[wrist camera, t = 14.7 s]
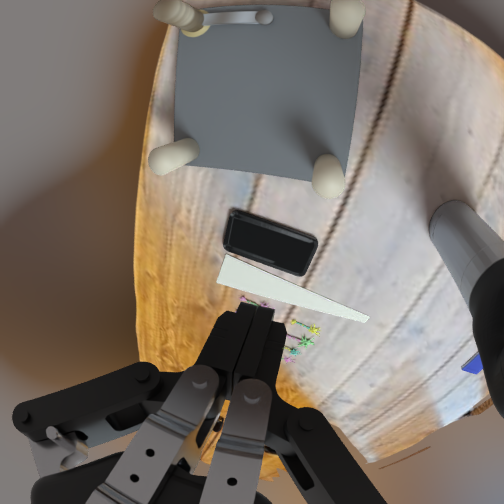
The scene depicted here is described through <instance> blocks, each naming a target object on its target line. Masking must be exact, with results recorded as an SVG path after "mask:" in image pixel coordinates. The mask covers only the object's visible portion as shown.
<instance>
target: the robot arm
mask: <svg viewBox="0 0 504 504" xmlns="http://www.w3.org/2000/svg"><path fill="white" fill-rule="evenodd" d="M429 233H430V238H431V241H432V243H433V244H434V246H435V247H436V249H437V251H438V252H439V254H440V256H441V258H442V259H443V261H444V263H445V265H446V266H447V268H448V270H449V272H450V273H451V275H452V277H453V279H454V281H455V283H456V285H457V286H458V288H459V290H460V292H461V294H462V296H463V298H464V300H465V302H466V304H467V306H468V308H469V311H470V313H471V315H472V317H473V335H474V338H475V342H476V345H477V348H478V351H479V355H480V359H481V362H482V366H483V370H484V374H485V378H486V382H487V386H488V389H489V393H490V396H491V398H492V401H493V403H494V405H495V407H496V409H497V411H498V412H499V414H500V415H501V416H502V417H503V418H504V241H503V240H502V239H501V238H500V237H499V236H498V234H497V233H496V232H495V231H494V230H493V229H492V228H491V227H490V226H489V225H488V224H487V223H486V222H485V221H484V220H483V219H482V218H481V217H480V216H479V215H478V214H477V213H475V212H474V211H473V210H472V209H471V208H470V207H469V206H468V205H467V204H465V203H464V202H461V201H456V200H454V201H449V202H446V203H444V204H443V205H442V206H440V207H439V208H438V209H437V210H436V212H435V213H434V215H433V217H432V219H431V222H430V228H429ZM274 313H275V309H272V308H267V307H262V306H257V305H253V304H248V303H244V302H241V303H240V305H239V307H238V309H237V311H236V313H235V312H230V311H226V312H224V313H223V314H222V315H221V316H219V317H218V319H217V321H216V323H215V325H214V328H213V329H212V331H211V333H210V336H209V337H208V339H207V341H206V343H205V345H204V347H203V349H202V351H201V353H200V355H199V357H198V359H197V361H196V363H195V364H194V365H193V366H191V367H189V368H187V369H186V370H185V371H182V372H159V370H158V368H157V367H156V366H155V365H153V364H151V363H149V362H137V363H134V364H132V365H129V366H127V367H124V368H122V369H119V370H117V371H114V372H111V373H109V374H106V375H103V376H100V377H98V378H95V379H92V380H90V381H87V382H84V383H81V384H78V385H76V386H73V387H70V388H67V389H64V390H61V391H58V392H55V393H52V394H48V395H46V396H42V397H39V398H36V399H33V400H29V401H26V402H22V403H20V404H18V405H17V406H16V407H15V409H14V411H13V415H12V420H13V423H14V426H15V427H16V429H18V430H19V431H20V432H21V433H23V434H24V435H25V436H27V437H28V439H29V442H30V446H31V450H32V454H33V457H34V460H35V463H36V466H37V470H38V473H39V476H40V479H39V480H38V481H36V482H35V484H34V485H33V488H32V490H31V504H272V503H271V502H270V501H269V500H268V499H267V498H266V497H265V496H263V495H262V494H261V493H259V492H257V491H256V489H257V485H258V480H259V475H260V470H261V465H262V459H263V453H264V444H265V445H267V446H268V447H270V448H272V449H274V450H275V451H276V453H277V455H278V456H279V458H280V460H281V461H282V463H283V465H284V466H285V468H286V470H287V472H288V473H289V475H290V476H291V478H292V480H293V481H294V483H295V485H296V486H297V488H298V489H299V491H300V492H301V494H302V496H303V497H304V499H305V500H306V502H307V503H308V504H387V503H386V501H385V500H384V499H383V497H382V496H381V495H380V493H379V492H378V491H377V489H376V488H375V487H374V485H373V484H372V483H371V481H370V480H369V479H368V477H367V476H366V474H365V473H364V472H363V470H362V469H361V468H360V466H359V465H358V463H357V462H356V461H355V460H354V458H353V457H352V455H351V454H350V452H349V451H348V449H347V448H346V447H345V445H344V444H343V442H342V441H341V440H340V438H339V437H338V436H337V434H336V432H335V431H334V430H333V428H332V427H331V425H330V424H329V422H328V421H327V419H326V418H325V417H324V415H323V414H322V413H321V412H320V411H318V410H316V409H314V408H310V407H303V408H299V409H298V408H296V407H294V406H292V405H290V404H288V403H286V402H285V401H283V400H282V399H281V398H280V397H279V395H278V394H277V391H276V386H275V384H276V379H277V375H278V371H279V367H280V362H281V358H282V354H283V349H284V345H285V340H286V336H287V331H286V328H285V325H284V323H279V322H275V321H273V319H274ZM225 399H226V400H230V404H229V407H228V411H227V415H226V418H225V422H224V426H223V429H222V433H221V436H220V439H219V440H218V442H217V445H216V448H215V451H214V454H213V458H212V462H211V465H210V469H209V472H208V475H207V477H206V476H196V475H192V474H193V472H194V471H195V468H196V467H197V465H198V463H199V460H200V457H201V453H202V450H203V448H204V446H205V444H206V442H207V440H208V438H209V436H210V434H211V432H212V430H213V428H214V426H215V424H216V422H217V420H218V418H219V416H220V412H221V409H222V406H223V404H224V401H225ZM137 430H138V432H137V433H136V435H135V436H134V438H133V439H132V441H131V442H130V444H129V446H128V447H127V448H126V450H125V451H123V452H118V453H114V454H111V455H109V456H106V457H104V458H101V459H98V460H96V461H93V462H90V463H88V464H84V465H81V466H78V467H75V466H76V465H77V464H79V463H81V462H83V461H84V460H86V459H87V458H88V448H91V447H94V446H97V445H100V444H103V443H105V442H108V441H111V440H114V439H117V438H119V437H122V436H125V435H127V434H130V433H132V432H135V431H137Z"/></svg>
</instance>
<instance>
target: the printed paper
mask: <svg viewBox="0 0 504 504" xmlns="http://www.w3.org/2000/svg"><path fill="white" fill-rule="evenodd" d="M216 283H219V284H222V285H226V286H229V287H232V288H236V289H239V290H243V291H246V292H250V293H253V294H257V295H260V296H264V297H267V298H271V299H275V300H278V301H282V302H285V303H289V304H293V305H297V306H300V307H304V308H308V309H312V310H316V311H320V312H324V313H328V314H332V315H336V316H340V317H344V318H348V319H352V320H356V321H360V322H366V321H367V320H368V319H369V318H370V317H369V316H367V315H364V314H362V313H360V312H357V311H355V310H353V309H350V308H348V307H346V306H343V305H341V304H339V303H336V302H334V301H332V300H329V299H327V298H325V297H322V296H320V295H318V294H315V293H313V292H311V291H309V290H306V289H304V288H302V287H299V286H297V285H295V284H292V283H290V282H288V281H286V280H283V279H281V278H279V277H277V276H274V275H272V274H270V273H267V272H265V271H263V270H261V269H258V268H256V267H254V266H252V265H249V264H247V263H245V262H243V261H240V260H238V259H236V258H234V257H231V256H229V255H227V254H226V256H225V259H224V262H223V264H222V267H221V270H220V273H219V276H218V279H217V282H216ZM241 297H242V296H241ZM240 299H241V298H240ZM241 300H243V301H244V300H245V301H247V302H248V303H251V304H254V305H256V303H253V302H249V301H248V300H246V299H245V297H244V298H243V297H242V299H241ZM260 303H261V302H260ZM263 305H264V304H263ZM263 305H262V303H261V306H262V307H269V306H267V305H268V303H267V305H266V306H263ZM257 306H258V305H257ZM236 309H237V308H236ZM272 309H273V308H272ZM235 313H236V312H235ZM290 323H292V324H294V323H297V324H300V325H303V324H301V323H298V322H296V320H294V321H293V320H292V322H291V321H290ZM311 326H312V325H311ZM303 327H306V326H305V325H303ZM306 328H307V329H310V330H309V332H312V333H316V335H317V334H320V333H317V332H316V331H320V330H317V329H319V328H315V324H314V327H313V328H312V327H311V328H310V327H306ZM287 336H288V338H292V337H291V336H289V335H287ZM317 336H318V335H317ZM302 337H303V335H302ZM319 337H320V336H319ZM292 339H296V338H294V337H293V338H292ZM302 339H303V338H302ZM313 339H314V338H313ZM313 339H312V340H313ZM296 340H297V341H299V342H302V344H298V345H301V346H303V345H305V346H306V348H307V345H309V344H313V343H314V342H310V341H312V340H306V337H305V339H303V340H300V339H296ZM313 345H314V344H313ZM297 347H300V346H297ZM306 348H305V349H306ZM285 349H288V348H286V347H285ZM294 349H295V348H294ZM294 349H293V350H290V349H288V350H289V351H291V354H294V355H295V357H296V354H297V352H298V353H300V352H299V351H295V350H296V349H295V350H294ZM290 357H291V356H290ZM281 359H283V358H281ZM290 359H291V358H287V357H285V359H284V360H285V361H287V362H288V361H291V360H290ZM291 362H293V361H291ZM286 364H287V363H286Z"/></svg>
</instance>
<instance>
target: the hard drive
mask: <svg viewBox="0 0 504 504" xmlns="http://www.w3.org/2000/svg"><path fill="white" fill-rule="evenodd" d="M461 368H462V370H463V371H467V372H470V373H473V374H477V373H479V372H480V371H481V370H482V369H483V366H482V362H481V359H480V355H479V351H478V352H477V353H476V354H475V355H474V356H473V357H472V358H471V359H470V360H469V361H468V362H467V363H466V364H465V365H463V366H462V367H461Z"/></svg>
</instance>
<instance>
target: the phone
mask: <svg viewBox="0 0 504 504" xmlns="http://www.w3.org/2000/svg"><path fill="white" fill-rule="evenodd" d="M223 247H224V249H225V250H227V251H229V252H231V253H234V254H237V255H240V256H242V257H245V258H248V259H251V260H254V261H256V262H259V263H262V264H265V265H267V266H270V267H273V268H276V269H279V270H281V271H284V272H287V273H290V274H293V275H295V276H299V277H300V276H304V275H305V274H306V272H307V269H308V267H309V265H310V263H311V261H312V258H313V256H314V254H315V252H316V250H317V247H318V240H317V239H316V238H315V237H313V236H310V235H307V234H305V233H302V232H299V231H296V230H294V229H291V228H288V227H285V226H282V225H280V224H277V223H274V222H271V221H268V220H265V219H262V218H260V217H257V216H254V215H251V214H248V213H245V212H242V211H239V210H235V211H233V212H232V213H231V214H230V217H229V221H228V225H227V230H226V234H225V238H224V243H223Z"/></svg>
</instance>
